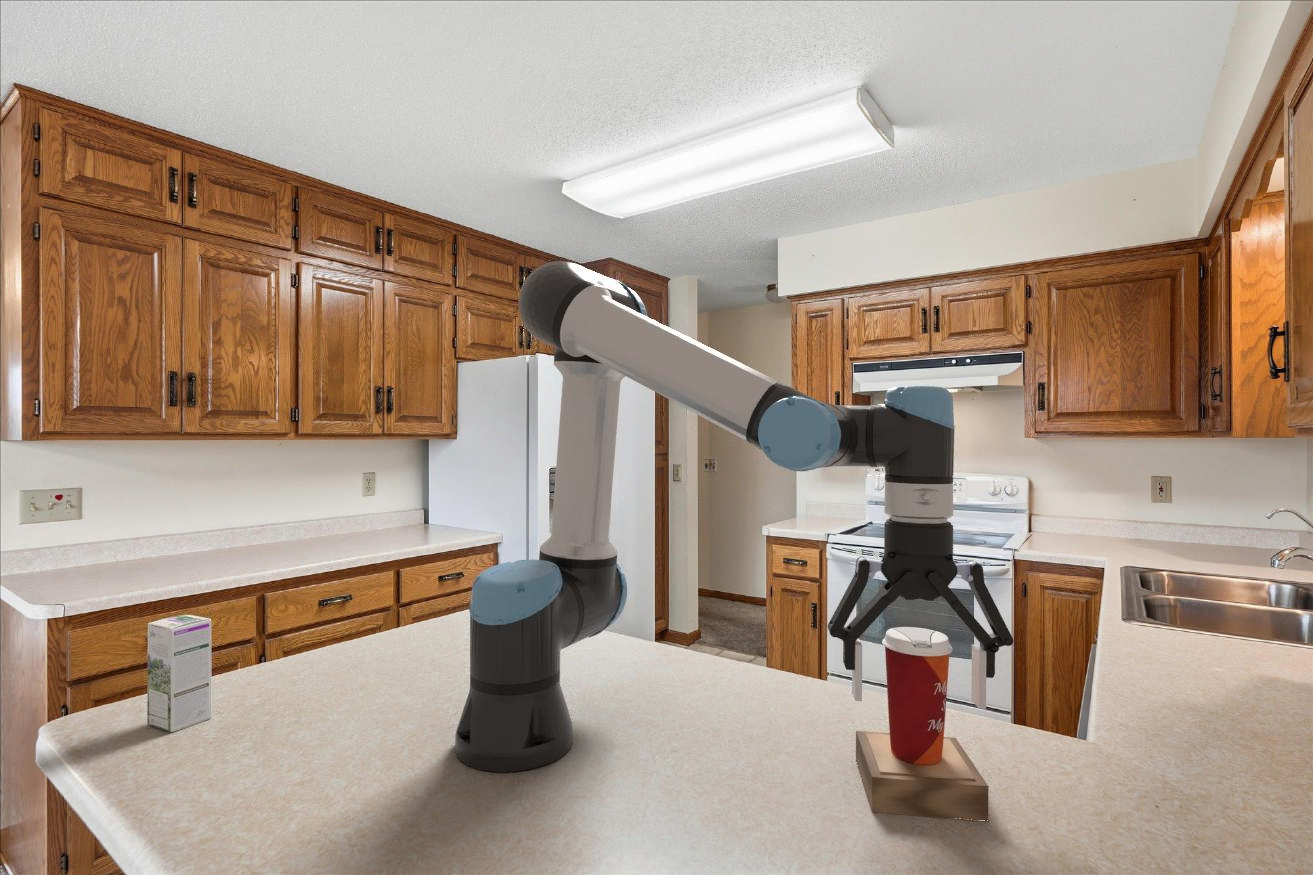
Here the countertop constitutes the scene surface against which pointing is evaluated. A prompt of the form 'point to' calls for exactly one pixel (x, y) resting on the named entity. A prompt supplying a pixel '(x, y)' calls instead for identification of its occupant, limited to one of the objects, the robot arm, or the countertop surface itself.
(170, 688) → the syrup box
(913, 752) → the paper cup
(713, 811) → the countertop surface
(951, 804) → the plinth
